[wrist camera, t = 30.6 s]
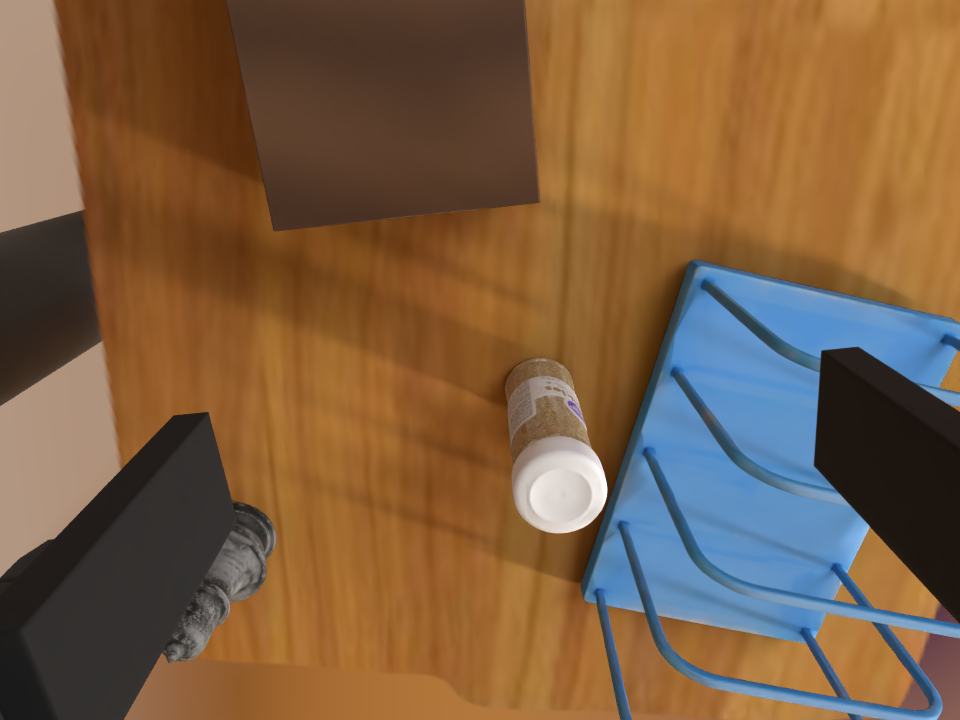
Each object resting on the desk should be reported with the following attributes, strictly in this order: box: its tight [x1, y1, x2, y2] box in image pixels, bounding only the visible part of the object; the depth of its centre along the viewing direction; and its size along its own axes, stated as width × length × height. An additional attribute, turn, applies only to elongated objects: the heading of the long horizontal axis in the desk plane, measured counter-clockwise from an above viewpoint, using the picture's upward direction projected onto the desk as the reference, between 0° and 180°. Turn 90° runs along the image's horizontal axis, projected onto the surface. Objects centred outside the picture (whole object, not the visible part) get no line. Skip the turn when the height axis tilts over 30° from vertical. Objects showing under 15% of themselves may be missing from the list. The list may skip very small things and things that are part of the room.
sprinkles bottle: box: [505, 357, 607, 533], centre depth 39 cm, size 5×5×13 cm
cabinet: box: [225, 0, 540, 231], centre depth 35 cm, size 16×13×9 cm
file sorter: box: [581, 260, 960, 720], centre depth 41 cm, size 25×17×15 cm
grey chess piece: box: [162, 503, 276, 663], centre depth 44 cm, size 6×6×12 cm
